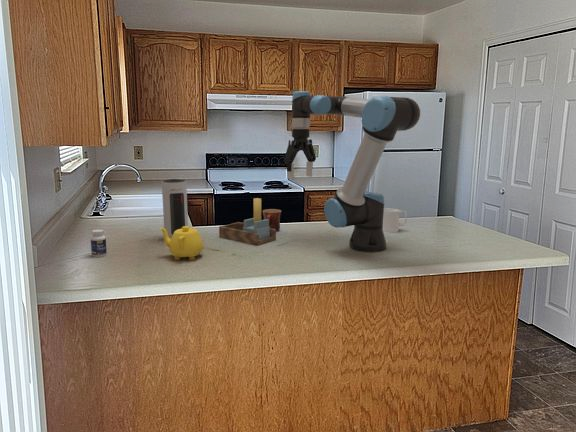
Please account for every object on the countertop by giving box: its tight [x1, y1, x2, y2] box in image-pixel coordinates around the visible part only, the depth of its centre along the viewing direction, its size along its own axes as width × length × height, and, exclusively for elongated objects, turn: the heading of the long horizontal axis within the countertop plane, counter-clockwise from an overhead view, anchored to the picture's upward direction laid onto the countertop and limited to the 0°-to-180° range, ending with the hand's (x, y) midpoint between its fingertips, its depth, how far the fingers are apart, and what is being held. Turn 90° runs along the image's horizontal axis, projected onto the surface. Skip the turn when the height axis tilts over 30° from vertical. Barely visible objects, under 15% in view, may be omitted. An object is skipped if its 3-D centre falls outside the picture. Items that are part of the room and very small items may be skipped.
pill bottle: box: [90, 229, 108, 258], centre depth 186 cm, size 5×5×10 cm
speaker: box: [161, 178, 189, 239], centre depth 210 cm, size 11×10×26 cm
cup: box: [383, 207, 408, 234], centre depth 231 cm, size 8×12×10 cm
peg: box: [253, 197, 262, 222], centre depth 203 cm, size 3×3×12 cm
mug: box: [262, 208, 282, 232], centre depth 223 cm, size 12×9×10 cm
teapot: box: [158, 225, 204, 261], centre depth 185 cm, size 14×14×12 cm
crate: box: [243, 217, 270, 240], centre depth 205 cm, size 8×8×9 cm
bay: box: [218, 221, 277, 247], centre depth 209 cm, size 22×12×6 cm, turn 51°
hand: (300, 177), depth 213 cm, fingers open, 13 cm apart
